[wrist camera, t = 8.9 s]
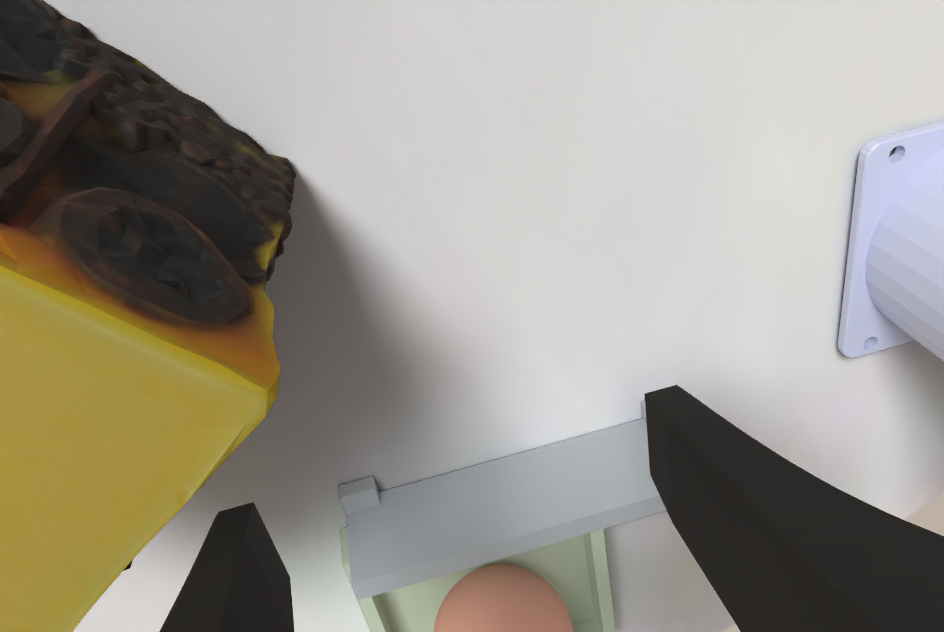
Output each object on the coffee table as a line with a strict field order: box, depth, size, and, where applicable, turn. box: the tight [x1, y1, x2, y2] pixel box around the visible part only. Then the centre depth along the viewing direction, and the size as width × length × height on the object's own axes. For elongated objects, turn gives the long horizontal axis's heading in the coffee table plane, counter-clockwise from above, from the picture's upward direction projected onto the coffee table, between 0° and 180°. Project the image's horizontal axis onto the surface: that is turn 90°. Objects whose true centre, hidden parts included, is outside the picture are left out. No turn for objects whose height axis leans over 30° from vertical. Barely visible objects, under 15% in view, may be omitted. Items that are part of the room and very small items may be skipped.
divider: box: [338, 400, 667, 600], centre depth 25 cm, size 12×2×4 cm, turn 100°
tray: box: [340, 527, 616, 632], centre depth 28 cm, size 9×9×2 cm
